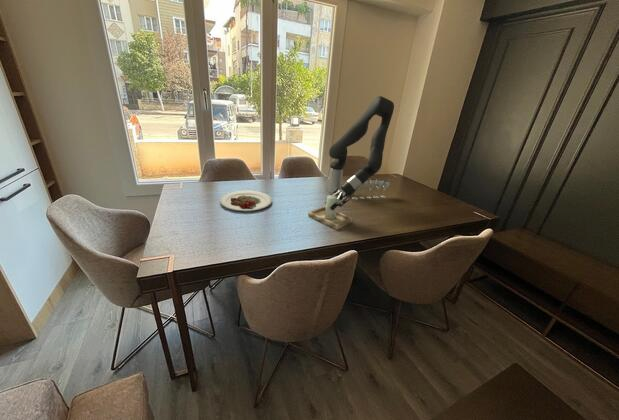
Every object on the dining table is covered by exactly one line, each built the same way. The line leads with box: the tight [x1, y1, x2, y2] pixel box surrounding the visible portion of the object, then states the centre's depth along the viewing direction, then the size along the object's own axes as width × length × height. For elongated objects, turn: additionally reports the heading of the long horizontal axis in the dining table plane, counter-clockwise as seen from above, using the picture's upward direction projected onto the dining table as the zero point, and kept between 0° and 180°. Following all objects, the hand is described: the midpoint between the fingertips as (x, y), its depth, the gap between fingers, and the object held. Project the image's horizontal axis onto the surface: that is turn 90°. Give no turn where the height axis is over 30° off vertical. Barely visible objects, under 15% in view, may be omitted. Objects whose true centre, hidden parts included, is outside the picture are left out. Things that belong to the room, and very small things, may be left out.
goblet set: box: [351, 177, 391, 200], centre depth 174 cm, size 28×6×13 cm, turn 109°
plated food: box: [219, 190, 273, 212], centre depth 151 cm, size 30×30×3 cm
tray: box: [307, 205, 353, 231], centre depth 140 cm, size 20×14×2 cm
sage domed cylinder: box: [325, 194, 338, 220], centre depth 138 cm, size 6×6×12 cm
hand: (328, 206), depth 137 cm, fingers open, 6 cm apart
